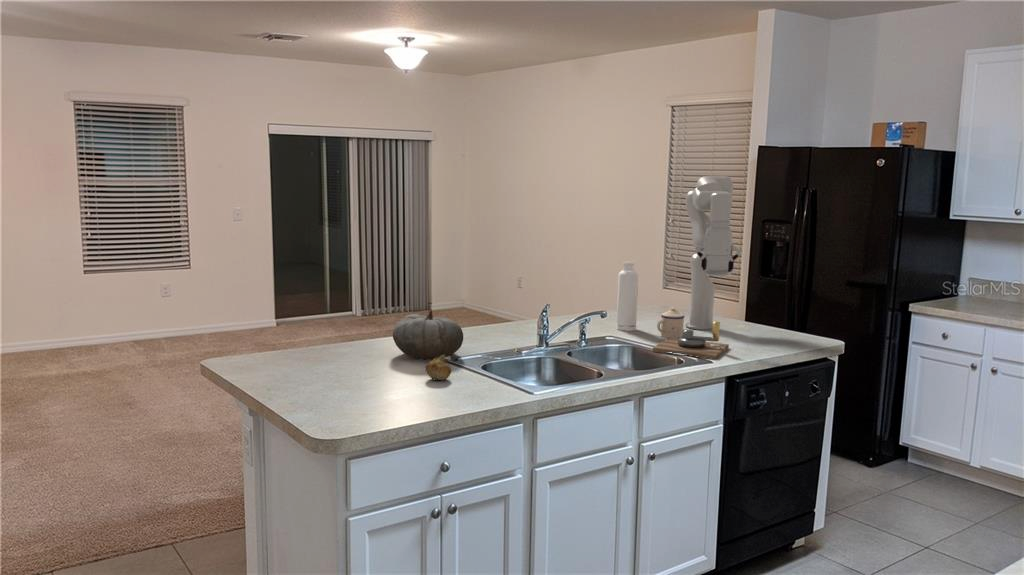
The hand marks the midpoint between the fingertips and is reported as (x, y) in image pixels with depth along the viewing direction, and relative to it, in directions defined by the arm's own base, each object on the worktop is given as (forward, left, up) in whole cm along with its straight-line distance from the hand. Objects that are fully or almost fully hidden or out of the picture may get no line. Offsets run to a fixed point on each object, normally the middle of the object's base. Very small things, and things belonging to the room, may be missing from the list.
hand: (717, 270), depth 301 cm
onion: (+97, -63, -28) cm, 119 cm away
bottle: (-8, -38, -28) cm, 48 cm away
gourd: (+73, -83, -29) cm, 114 cm away
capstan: (+14, -2, -26) cm, 30 cm away
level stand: (+15, -5, -28) cm, 32 cm away
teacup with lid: (-2, -18, -28) cm, 34 cm away
